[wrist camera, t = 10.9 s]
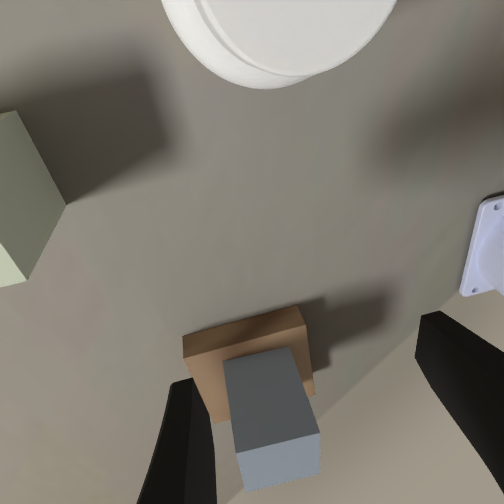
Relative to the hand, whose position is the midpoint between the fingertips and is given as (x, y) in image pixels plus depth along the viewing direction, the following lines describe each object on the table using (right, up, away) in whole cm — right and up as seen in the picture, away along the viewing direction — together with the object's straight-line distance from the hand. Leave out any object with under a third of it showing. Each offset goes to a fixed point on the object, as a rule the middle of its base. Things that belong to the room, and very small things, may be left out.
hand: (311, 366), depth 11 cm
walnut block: (-2, -4, +16) cm, 16 cm away
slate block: (-1, -5, +14) cm, 15 cm away
